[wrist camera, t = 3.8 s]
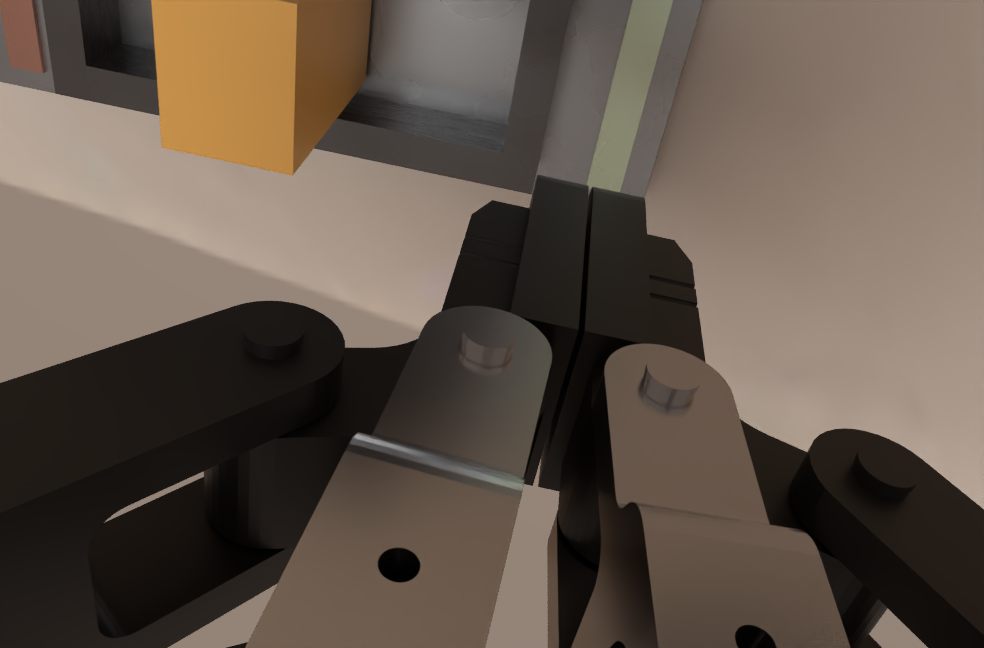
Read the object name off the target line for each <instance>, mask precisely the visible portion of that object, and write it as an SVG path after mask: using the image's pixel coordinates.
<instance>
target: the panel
mask: <svg viewBox="0 0 984 648" xmlns="http://www.w3.org/2000/svg"><path fill="white" fill-rule="evenodd" d="M702 2H703V0H372V3H371V16H370V30H369V43H368V56H367V69H366V81H365V82H364V84H363V85H362V86H361V88H360V89H359V90H358V91H357V93H356V94H355V95H354V97H353V98H352V99H351V100H350V102H349V103H348V104H347V106H346V107H345V108H344V110H343V111H342V112H341V113H340V115H339V116H338V117H337V119H336V120H335V121H334V123H333V124H332V125H331V126H330V128H329V129H328V130H327V132H326V133H325V134H324V135H323V137H322V138H321V139H320V141H319V142H318V143H317V145H316V146H315V147H314V148H315V149H320V150H325V151H330V152H334V153H339V154H344V155H349V156H353V157H358V158H363V159H367V160H372V161H377V162H382V163H386V164H391V165H396V166H401V167H405V168H410V169H415V170H419V171H424V172H429V173H434V174H438V175H443V176H448V177H452V178H457V179H462V180H467V181H471V182H476V183H481V184H486V185H490V186H495V187H500V188H504V189H509V190H514V191H519V192H523V193H528V194H533V190H534V186H535V182H536V178H537V174H538V175H543V176H547V177H552V178H556V179H561V180H565V181H570V182H574V183H579V184H583V185H588V186H589V191H588V196H589V193H590V191H591V188H592V187H598V188H602V189H607V190H611V191H616V192H620V193H625V194H629V195H634V196H638V197H643V198H644V197H645V194H646V190H647V187H648V184H649V180H650V177H651V174H652V170H653V167H654V164H655V160H656V157H657V153H658V150H659V147H660V143H661V140H662V137H663V133H664V130H665V127H666V123H667V120H668V117H669V113H670V110H671V106H672V103H673V100H674V96H675V93H676V90H677V86H678V83H679V80H680V76H681V73H682V69H683V66H684V63H685V59H686V56H687V53H688V49H689V46H690V43H691V39H692V36H693V32H694V29H695V26H696V22H697V19H698V16H699V12H700V9H701V6H702ZM0 82H4V83H9V84H14V85H19V86H23V87H28V88H33V89H37V90H42V91H47V92H52V93H55V94H60V95H65V96H70V97H74V98H79V99H84V100H89V101H93V102H98V103H103V104H107V105H112V106H117V107H122V108H126V109H131V110H136V111H141V112H145V113H150V114H155V115H159V116H160V114H159V100H158V86H157V72H156V58H155V44H154V30H153V17H152V3H151V0H0Z"/></svg>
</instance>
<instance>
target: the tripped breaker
mask: <svg viewBox="0 0 984 648" xmlns="http://www.w3.org/2000/svg"><path fill="white" fill-rule="evenodd" d="M151 3H152V17H153V30H154V44H155V58H156V72H157V86H158V100H159V114H160V127H161V141H162V148H166V149H171V150H176V151H180V152H185V153H190V154H195V155H199V156H204V157H209V158H213V159H218V160H223V161H228V162H232V163H237V164H242V165H246V166H251V167H256V168H261V169H265V170H270V171H275V172H279V173H284V174H289V175H293V174H294V173H295V172H296V171H297V169H298V168H299V167H300V165H301V164H302V163H303V161H304V160H305V159H306V158H307V156H308V155H309V154H310V152H311V151H312V150H313V148H314V147H315V146H316V145H317V143H318V142H319V141H320V139H321V138H322V137H323V135H324V134H325V133H326V132H327V130H328V129H329V128H330V126H331V125H332V124H333V123H334V121H335V120H336V119H337V117H338V116H339V115H340V113H341V112H342V111H343V110H344V108H345V107H346V106H347V104H348V103H349V102H350V100H351V99H352V98H353V97H354V95H355V94H356V93H357V91H358V90H359V89H360V88H361V86H362V85H363V84H364V82H365V81H366V69H367V56H368V43H369V30H370V16H371V3H372V0H151Z"/></svg>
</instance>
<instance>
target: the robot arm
mask: <svg viewBox="0 0 984 648" xmlns="http://www.w3.org/2000/svg"><path fill="white" fill-rule="evenodd" d="M588 191H589V186H588V185H583V184H579V183H574V182H570V181H565V180H561V179H556V178H552V177H547V176H543V175H538V174H537V178H536V182H535V186H534V190H533V194H532V199H531V203H530V207H529V208H525V207H520V206H516V205H511V204H507V203H502V202H498V201H493V200H492V201H491V202H489V203H488V204H486V205H485V206H483V207H482V208H481V209H479V210H478V211H476V212H475V213H473V214H472V216H471V219H470V222H469V225H468V229H467V232H466V235H465V239H464V241H463V244H462V248H461V251H460V255H459V257H458V260H457V263H456V267H455V270H454V273H453V276H452V279H451V283H450V286H449V289H448V292H447V295H446V298H445V302H444V305H443V308H442V311H441V312H439V313H438V314H436V315H434V316H433V317H432V318H431V319H430V320H428V321H427V323H426V324H425V326H424V328H423V330H422V332H421V334H420V336H419V338H418V339H416V340H414V341H411V342H409V343H406V344H401V345H397V346H391V347H382V348H345V341H344V338H343V335H342V333H341V331H340V330H339V328H338V326H336V325H335V323H334V322H333V321H332V320H330V319H329V318H328V317H326V316H325V315H323V314H321V313H320V312H318V311H315V310H313V309H311V308H308V307H306V306H302V305H298V304H294V303H289V302H282V301H257V302H250V303H245V304H241V305H237V306H234V307H231V308H228V309H225V310H222V311H218V312H215V313H213V314H209V315H206V316H203V317H200V318H197V319H194V320H191V321H188V322H185V323H182V324H179V325H176V326H173V327H170V328H167V329H164V330H161V331H158V332H155V333H151V334H148V335H145V336H142V337H140V338H136V339H133V340H130V341H127V342H124V343H121V344H118V345H115V346H112V347H109V348H106V349H103V350H100V351H97V352H94V353H91V354H88V355H84V356H81V357H79V358H75V359H72V360H70V361H66V362H63V363H60V364H57V365H54V366H51V367H48V368H45V369H42V370H39V371H36V372H33V373H30V374H27V375H24V376H21V377H18V378H14V379H11V380H8V381H5V382H2V383H0V648H167V647H169V646H171V645H173V644H174V643H176V642H178V641H179V640H181V639H183V638H185V637H186V636H188V635H190V634H191V633H193V632H195V631H196V630H198V629H200V628H202V627H203V626H205V625H207V624H209V623H210V622H212V621H214V620H215V619H217V618H219V617H220V616H222V615H224V614H226V613H227V612H229V611H231V610H232V609H234V608H236V607H238V606H239V605H241V604H243V603H244V602H246V601H248V600H249V599H251V598H253V597H255V596H256V595H258V594H260V593H261V592H263V591H265V590H267V589H269V588H270V587H272V586H273V585H275V584H277V583H278V584H277V586H276V588H275V590H274V592H273V594H272V596H271V598H270V600H269V601H268V603H267V606H266V608H265V609H264V611H263V613H262V616H261V617H260V619H259V621H258V623H257V625H256V627H255V629H254V631H253V633H252V635H251V637H250V639H249V641H248V642H247V643H243V644H240V645H235V646H231V647H227V648H485V647H486V643H487V638H488V634H489V630H490V626H491V621H492V617H493V613H494V609H495V605H496V600H497V596H498V592H499V588H500V584H501V580H502V575H503V571H504V567H505V563H506V559H507V554H508V550H509V546H510V542H511V538H512V533H513V529H514V525H515V520H516V516H517V512H518V508H519V504H520V500H521V496H522V491H523V487H524V484H527V485H532V486H533V483H534V479H535V476H536V473H537V469H538V466H539V462H540V459H541V466H540V476H539V484H538V487H542V488H546V489H551V490H556V491H560V493H559V505H558V511H557V514H556V517H555V520H554V523H553V526H552V529H551V533H550V536H549V539H548V546H547V555H548V556H547V557H548V558H547V559H548V561H547V564H548V565H547V566H548V569H547V570H548V648H881V646H879V644H878V643H877V642H876V641H875V640H874V639H873V638H872V637H871V636H870V635H869V633H870V632H871V630H872V629H873V628H874V626H875V625H876V623H877V622H878V621H879V619H880V618H881V617H882V615H883V614H884V612H885V611H886V610H887V608H888V609H889V610H890V611H891V612H892V613H893V614H894V615H895V616H896V617H898V619H900V620H901V622H903V623H904V624H905V625H906V626H907V627H908V628H909V629H910V630H911V631H912V632H913V633H914V634H915V635H916V636H917V637H918V638H919V639H920V640H921V641H922V642H923V643H924V644H925V645H926V646H927V647H928V648H984V509H982V508H981V507H980V506H979V505H977V504H976V503H975V502H974V501H973V500H971V499H970V498H969V497H968V496H966V495H965V494H964V493H963V492H961V491H960V490H959V489H958V488H957V487H955V486H954V485H953V484H952V483H950V482H949V481H948V480H947V479H945V478H944V477H943V476H942V475H941V474H939V473H938V472H937V471H936V470H934V469H933V468H932V467H931V466H930V465H928V464H927V463H926V462H925V461H923V460H922V459H921V458H919V457H918V456H917V455H915V454H914V453H913V452H911V451H909V450H908V449H906V448H905V447H903V446H901V445H899V444H897V443H895V442H893V441H891V440H889V439H887V438H884V437H882V436H879V435H877V434H873V433H870V432H866V431H861V430H856V429H834V430H830V431H826V432H824V433H822V434H820V435H819V436H818V437H817V438H816V439H815V440H814V441H813V443H812V445H811V447H810V449H809V450H808V452H805V451H803V450H801V449H798V448H796V447H794V446H792V445H789V444H787V443H785V442H783V441H780V440H778V439H776V438H774V437H771V436H769V435H767V434H765V433H763V432H761V431H759V430H757V429H755V428H753V427H752V426H750V425H748V424H747V423H745V422H744V421H742V420H741V419H740V418H739V414H738V411H737V407H736V404H735V400H734V396H733V394H732V391H731V389H730V387H729V385H728V384H727V382H726V381H725V380H724V379H723V377H722V376H721V375H720V374H719V373H718V372H717V371H716V370H714V369H713V368H712V367H711V366H710V365H708V364H707V363H705V355H704V348H703V341H702V333H701V326H700V319H699V311H698V308H697V307H696V306H697V297H696V289H694V286H695V282H694V275H693V267H692V262H691V261H690V260H689V259H688V257H687V256H686V255H685V253H684V252H683V251H682V250H681V248H680V247H679V246H678V244H677V243H676V242H675V241H674V240H671V239H666V238H661V237H657V236H652V235H648V234H647V227H646V208H645V198H643V197H638V196H634V195H629V194H625V193H620V192H616V191H611V190H607V189H602V188H598V187H592V188H591V191H590V193H589V196H588ZM541 456H542V457H541ZM203 471H204V477H203V478H200V479H198V480H196V481H194V482H192V483H190V484H188V485H185V486H183V487H181V488H179V489H177V490H174V491H172V492H170V493H168V494H166V495H164V496H161V497H159V498H157V499H155V500H153V501H151V502H148V503H146V504H144V505H142V506H140V507H137V508H135V509H133V510H131V511H129V512H127V513H124V514H122V515H120V516H118V517H116V518H114V519H112V520H109V521H107V522H105V521H106V520H107V519H108V518H109V517H111V516H112V515H113V514H114V513H116V512H117V511H119V510H121V509H123V508H124V507H126V506H128V505H130V504H133V503H135V502H137V501H139V500H141V499H143V498H146V497H148V496H150V495H152V494H154V493H157V492H159V491H161V490H163V489H165V488H167V487H170V486H172V485H174V484H177V483H179V482H181V481H183V480H185V479H187V478H189V477H192V476H194V475H196V474H198V473H201V472H203ZM104 522H105V523H104Z"/></svg>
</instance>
